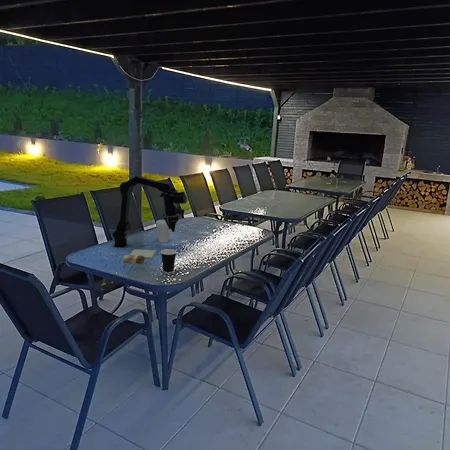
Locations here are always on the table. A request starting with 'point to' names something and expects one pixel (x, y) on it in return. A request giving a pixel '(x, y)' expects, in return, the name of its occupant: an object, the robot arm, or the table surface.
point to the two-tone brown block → (133, 259)
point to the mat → (144, 253)
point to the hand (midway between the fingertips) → (171, 230)
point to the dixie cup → (168, 260)
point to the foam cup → (162, 231)
